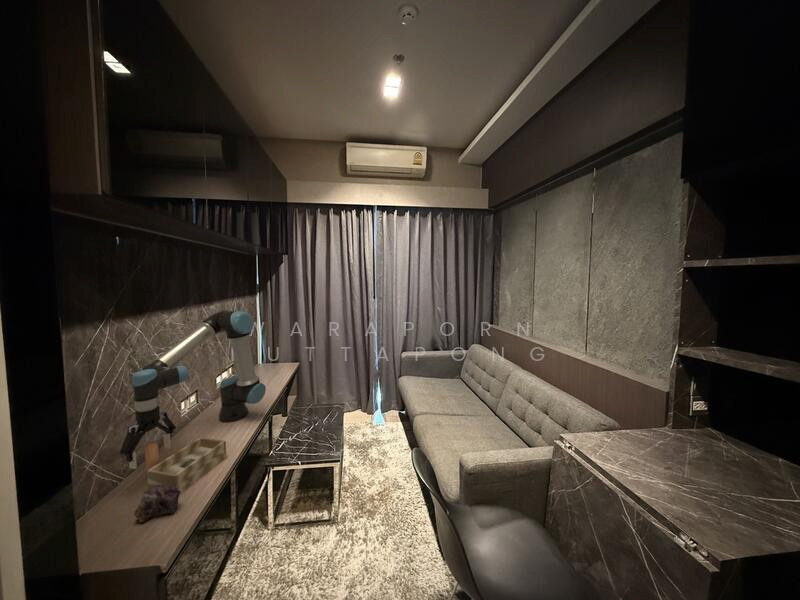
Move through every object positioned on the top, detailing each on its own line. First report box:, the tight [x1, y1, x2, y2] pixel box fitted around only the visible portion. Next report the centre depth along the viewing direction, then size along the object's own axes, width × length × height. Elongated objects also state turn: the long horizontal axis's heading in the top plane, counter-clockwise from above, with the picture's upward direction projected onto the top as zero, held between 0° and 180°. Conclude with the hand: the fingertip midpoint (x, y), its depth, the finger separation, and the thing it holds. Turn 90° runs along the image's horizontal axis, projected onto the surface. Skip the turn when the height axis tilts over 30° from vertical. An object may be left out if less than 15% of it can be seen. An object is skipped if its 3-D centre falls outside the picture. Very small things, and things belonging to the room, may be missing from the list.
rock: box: [133, 484, 181, 523], centre depth 106 cm, size 12×9×10 cm
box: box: [146, 437, 227, 494], centre depth 126 cm, size 24×14×8 cm, turn 167°
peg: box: [143, 440, 160, 472], centre depth 122 cm, size 4×4×15 cm
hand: (151, 457), depth 122 cm, fingers open, 13 cm apart
